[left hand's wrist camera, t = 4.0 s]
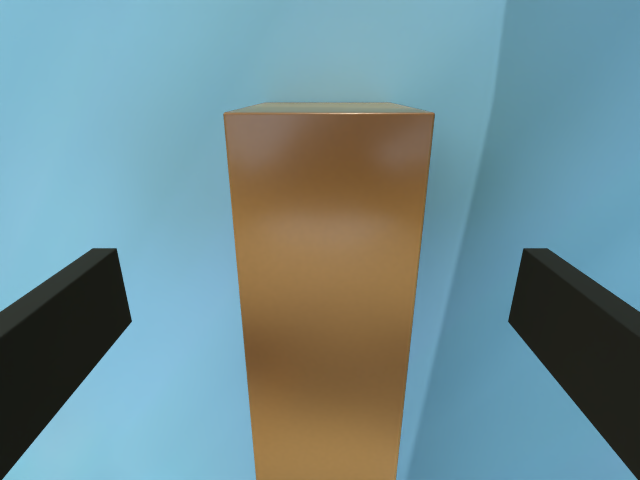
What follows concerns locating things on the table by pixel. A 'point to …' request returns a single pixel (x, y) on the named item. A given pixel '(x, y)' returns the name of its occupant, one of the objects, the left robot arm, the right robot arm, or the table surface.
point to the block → (327, 279)
